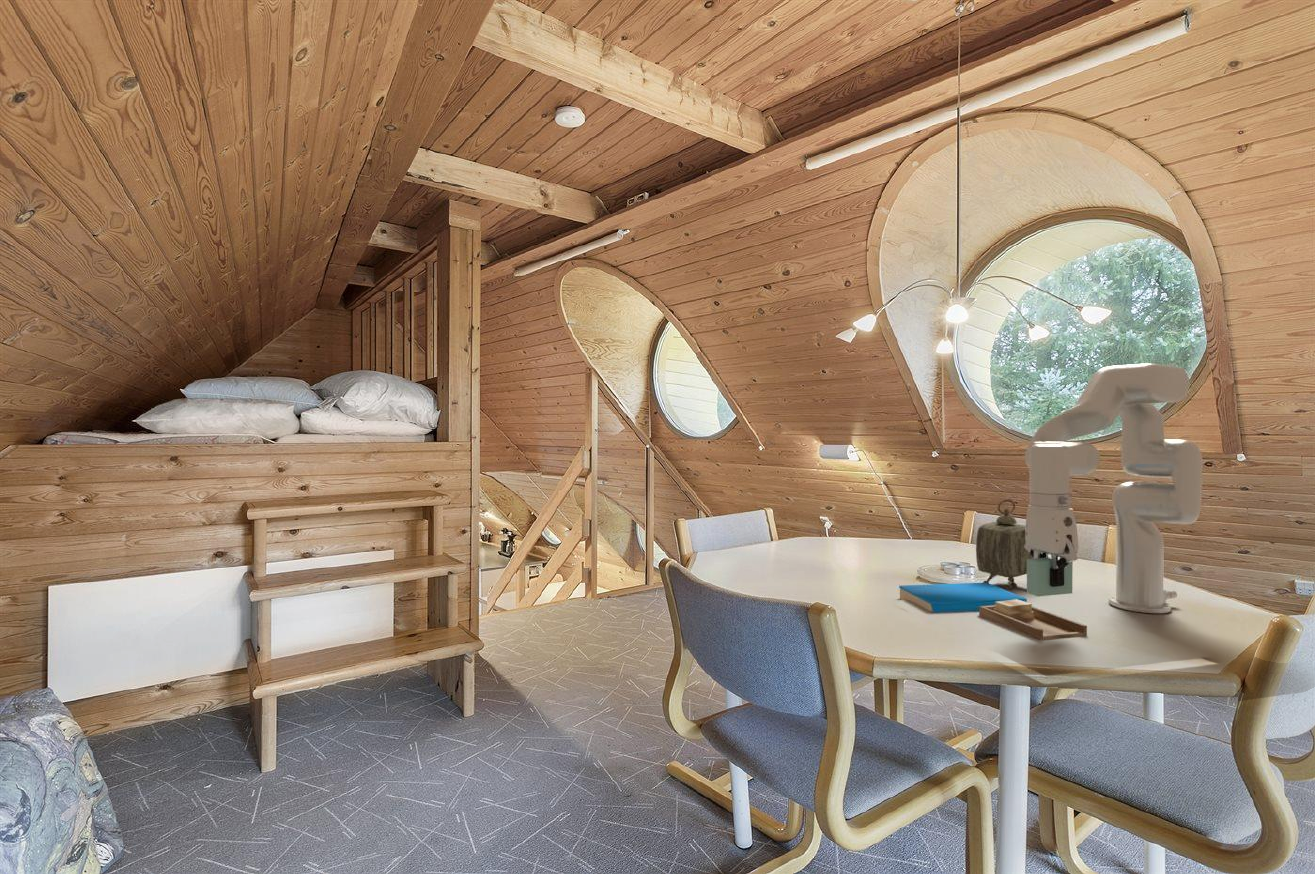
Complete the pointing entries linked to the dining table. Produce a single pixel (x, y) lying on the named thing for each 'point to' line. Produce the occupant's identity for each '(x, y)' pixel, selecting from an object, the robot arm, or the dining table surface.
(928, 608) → the book
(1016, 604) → the offcut top
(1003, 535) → the tabletop clock
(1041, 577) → the block
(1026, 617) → the offcut low
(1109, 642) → the dining table surface
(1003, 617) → the tray
